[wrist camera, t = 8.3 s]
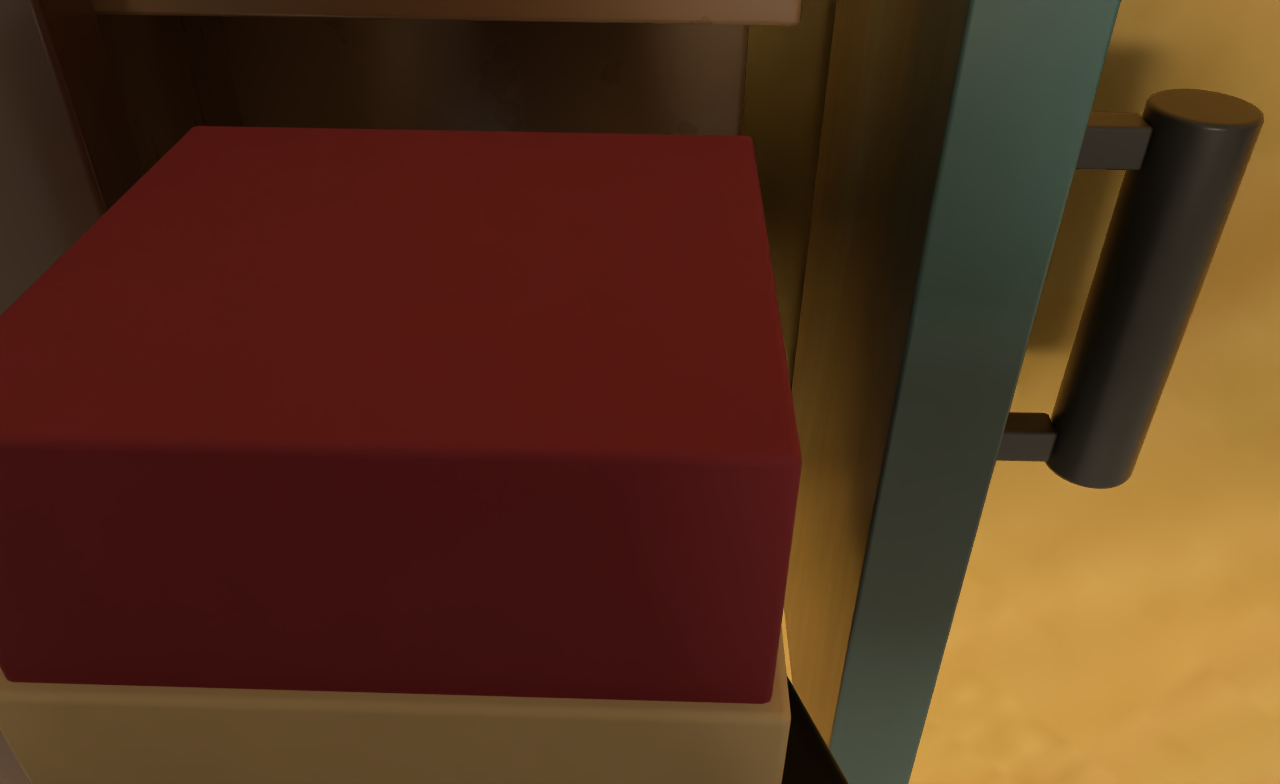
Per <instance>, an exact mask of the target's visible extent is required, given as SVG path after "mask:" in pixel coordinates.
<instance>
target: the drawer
mask: <svg viewBox="0 0 1280 784" xmlns="http://www.w3.org/2000/svg"><path fill="white" fill-rule="evenodd" d="M92 2H93V6H94V9H95V12H96V16H97V19H98V23H99V26H100V29H101V33H102V36H103V40H104V43H105V46H106V50H107V53H108V57H109V60H110V63H111V67H112V70H113V74H114V77H115V80H116V84H117V87H118V91H119V94H120V97H121V101H122V104H123V108H124V111H125V114H126V118H127V121H128V125H129V128H130V131H131V135H132V138H133V142H134V145H135V148H136V152H137V155H138V159H139V162H140V165H141V169H142V172H143V175H144V174H145V173H146V172H147V171H148V170H149V169H150V168H151V167H152V166H153V165H154V164H156V163H157V162H158V161H159V160H160V159H161V158H162V157H163V156H164V155H165V154H166V153H167V152H168V151H169V150H170V149H171V148H172V147H173V146H174V145H175V144H176V143H177V142H178V141H179V140H180V139H181V138H182V137H183V136H184V135H185V134H186V133H187V132H188V131H189V130H190V129H191V128H193V127H195V126H227V127H282V128H338V129H393V130H449V131H504V132H560V133H615V134H671V135H726V136H741V135H742V120H743V105H744V90H745V76H746V61H747V46H748V32H749V25H779V26H794V25H796V24H798V23H799V21H800V17H801V7H802V0H92ZM1120 2H1121V0H837V2H836V11H835V20H834V28H833V37H832V46H831V54H830V63H829V72H828V80H827V89H826V98H825V106H824V115H823V124H822V132H821V141H820V150H819V158H818V167H817V176H816V184H815V193H814V202H813V210H812V219H811V228H810V236H809V245H808V254H807V262H806V271H805V280H804V288H803V297H802V306H801V314H800V323H799V332H798V341H797V349H796V358H795V367H794V375H793V384H792V398H793V405H794V412H795V418H796V425H797V431H798V438H799V444H800V450H801V457H802V468H801V475H800V483H799V491H798V499H797V507H796V514H795V522H794V530H793V538H792V545H791V553H790V561H789V569H788V576H787V584H786V592H785V600H784V611H785V620H786V629H787V638H788V647H789V656H790V665H791V674H792V683H793V687H794V689H795V690H796V692H797V694H798V696H799V697H800V699H801V701H802V703H803V704H804V706H805V708H806V710H807V711H808V713H809V715H810V717H811V718H812V720H813V722H814V724H815V725H816V727H817V729H818V730H819V732H820V734H821V736H822V737H823V739H824V741H825V743H826V744H827V746H828V748H829V750H830V751H831V753H832V755H833V757H834V758H835V760H836V762H837V764H838V765H839V767H840V769H841V771H842V772H843V774H844V776H845V777H846V779H847V781H848V783H849V784H908V783H909V779H910V775H911V772H912V768H913V764H914V761H915V757H916V753H917V750H918V746H919V742H920V738H921V735H922V731H923V727H924V724H925V720H926V716H927V713H928V709H929V705H930V702H931V698H932V694H933V691H934V687H935V683H936V680H937V676H938V672H939V669H940V665H941V661H942V657H943V654H944V650H945V646H946V643H947V639H948V635H949V632H950V628H951V624H952V621H953V617H954V613H955V610H956V606H957V602H958V599H959V595H960V591H961V587H962V584H963V580H964V576H965V573H966V569H967V565H968V562H969V558H970V554H971V551H972V547H973V543H974V540H975V536H976V532H977V529H978V525H979V521H980V518H981V514H982V510H983V506H984V503H985V499H986V495H987V492H988V488H989V484H990V481H991V477H992V473H993V470H994V466H995V462H996V460H1002V461H1043V462H1045V463H1046V465H1047V466H1048V467H1049V468H1050V469H1051V470H1052V471H1053V472H1054V473H1055V474H1057V475H1058V476H1060V477H1061V478H1063V479H1065V480H1067V481H1069V482H1071V483H1074V484H1077V485H1080V486H1084V487H1088V488H1097V489H1106V488H1112V487H1116V486H1119V485H1121V484H1123V483H1124V482H1125V481H1127V480H1128V479H1129V477H1130V476H1131V474H1132V471H1133V469H1134V466H1135V463H1136V461H1137V458H1138V455H1139V453H1140V450H1141V447H1142V445H1143V442H1144V439H1145V437H1146V434H1147V431H1148V429H1149V426H1150V423H1151V421H1152V418H1153V415H1154V413H1155V410H1156V407H1157V405H1158V402H1159V399H1160V397H1161V394H1162V391H1163V389H1164V386H1165V383H1166V381H1167V378H1168V375H1169V373H1170V370H1171V367H1172V365H1173V362H1174V359H1175V357H1176V354H1177V351H1178V349H1179V346H1180V343H1181V341H1182V338H1183V335H1184V333H1185V330H1186V327H1187V325H1188V322H1189V319H1190V317H1191V314H1192V311H1193V309H1194V306H1195V303H1196V301H1197V298H1198V295H1199V293H1200V290H1201V287H1202V285H1203V282H1204V279H1205V277H1206V274H1207V271H1208V269H1209V266H1210V263H1211V261H1212V258H1213V255H1214V253H1215V250H1216V247H1217V245H1218V242H1219V239H1220V237H1221V234H1222V231H1223V229H1224V226H1225V223H1226V221H1227V218H1228V215H1229V213H1230V210H1231V207H1232V205H1233V202H1234V199H1235V197H1236V194H1237V191H1238V189H1239V186H1240V183H1241V181H1242V178H1243V175H1244V173H1245V170H1246V167H1247V165H1248V162H1249V159H1250V157H1251V154H1252V151H1253V149H1254V146H1255V143H1256V141H1257V138H1258V136H1259V133H1260V130H1261V128H1262V125H1263V122H1264V116H1263V113H1262V111H1261V110H1260V109H1259V108H1257V107H1256V106H1254V105H1253V104H1251V103H1249V102H1246V101H1244V100H1242V99H1239V98H1237V97H1234V96H1230V95H1227V94H1222V93H1218V92H1213V91H1206V90H1197V89H1172V90H1165V91H1160V92H1157V93H1155V94H1153V95H1151V97H1150V98H1149V99H1148V100H1147V102H1146V105H1145V109H1144V112H1143V115H1142V117H1141V116H1140V115H1139V114H1138V113H1133V112H1091V109H1092V105H1093V101H1094V98H1095V94H1096V90H1097V87H1098V83H1099V79H1100V76H1101V72H1102V68H1103V65H1104V61H1105V57H1106V54H1107V50H1108V46H1109V43H1110V39H1111V35H1112V32H1113V28H1114V24H1115V20H1116V17H1117V13H1118V9H1119V6H1120ZM1075 169H1108V170H1126V172H1125V175H1124V178H1123V182H1122V185H1121V188H1120V191H1119V195H1118V198H1117V201H1116V205H1115V208H1114V211H1113V215H1112V218H1111V221H1110V224H1109V228H1108V231H1107V234H1106V238H1105V241H1104V244H1103V248H1102V251H1101V254H1100V258H1099V261H1098V264H1097V267H1096V271H1095V274H1094V277H1093V281H1092V284H1091V287H1090V291H1089V294H1088V297H1087V300H1086V304H1085V307H1084V310H1083V314H1082V317H1081V320H1080V324H1079V327H1078V330H1077V334H1076V337H1075V340H1074V343H1073V347H1072V350H1071V353H1070V357H1069V360H1068V363H1067V367H1066V370H1065V373H1064V377H1063V380H1062V383H1061V386H1060V390H1059V393H1058V396H1057V400H1056V403H1055V406H1054V410H1053V413H1052V416H1051V419H1050V417H1049V415H1048V414H1045V413H1019V412H1009V411H1010V407H1011V403H1012V400H1013V396H1014V392H1015V389H1016V385H1017V381H1018V378H1019V374H1020V370H1021V367H1022V363H1023V359H1024V356H1025V352H1026V348H1027V344H1028V341H1029V337H1030V333H1031V330H1032V326H1033V322H1034V319H1035V315H1036V311H1037V308H1038V304H1039V300H1040V297H1041V293H1042V289H1043V286H1044V282H1045V278H1046V275H1047V271H1048V267H1049V263H1050V260H1051V256H1052V252H1053V249H1054V245H1055V241H1056V238H1057V234H1058V230H1059V227H1060V223H1061V219H1062V216H1063V212H1064V208H1065V205H1066V201H1067V197H1068V194H1069V190H1070V186H1071V182H1072V179H1073V175H1074V171H1075Z"/></svg>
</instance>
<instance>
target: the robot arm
mask: <svg viewBox="0 0 1280 784" xmlns="http://www.w3.org/2000/svg"><path fill="white" fill-rule="evenodd" d="M787 684H788V693H789V702H790V712H791V723H790V729H789V736H788V743H787V750H786V756H785V763H784V770H783V776H782V783H781V784H849V783H848V781H847V779H846V777H845V776H844V774H843V772H842V771H841V769H840V767H839V765H838V764H837V762H836V760H835V758H834V757H833V755H832V753H831V751H830V750H829V748H828V746H827V744H826V743H825V741H824V739H823V737H822V736H821V734H820V732H819V730H818V729H817V727H816V725H815V724H814V722H813V720H812V718H811V717H810V715H809V713H808V711H807V710H806V708H805V706H804V704H803V703H802V701H801V699H800V697H799V696H798V694H797V692H796V690H795V689H794V687H793V685H792V683H791V682H790V680H789V678H788V677H787Z"/></svg>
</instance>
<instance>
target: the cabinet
mask: <svg viewBox="0 0 1280 784" xmlns="http://www.w3.org/2000/svg"><path fill="white" fill-rule="evenodd" d="M142 176H143V172H142V169H141V165H140V162H139V159H138V155H137V152H136V148H135V145H134V142H133V138H132V135H131V131H130V128H129V125H128V121H127V118H126V114H125V111H124V108H123V104H122V101H121V97H120V94H119V91H118V87H117V84H116V80H115V77H114V74H113V70H112V67H111V63H110V60H109V57H108V53H107V50H106V46H105V43H104V40H103V36H102V33H101V29H100V26H99V23H98V19H97V16H96V12H95V9H94V6H93V2H92V0H0V315H1V314H2V313H3V312H4V311H5V310H6V309H7V308H8V307H9V306H10V305H11V304H13V303H14V302H15V301H16V300H17V299H18V298H19V297H20V296H21V295H22V294H23V293H24V292H25V291H26V290H27V289H28V288H29V287H30V286H31V285H32V284H33V283H34V282H35V281H36V280H37V279H38V278H39V277H40V276H41V275H42V274H43V273H44V272H45V271H46V270H47V269H48V268H49V267H50V266H51V265H52V264H53V263H54V262H55V261H56V260H57V259H58V258H59V257H61V256H62V255H63V254H64V253H65V252H66V251H67V250H68V249H69V248H70V247H71V246H72V245H73V244H74V243H75V242H76V241H77V240H78V239H79V238H80V237H81V236H82V235H83V234H84V233H85V232H86V231H87V230H88V229H89V228H90V227H91V226H92V225H93V224H94V223H95V222H96V221H97V220H98V219H99V218H100V217H101V216H102V215H103V214H104V213H105V212H106V211H108V210H109V209H110V208H111V207H112V206H113V205H114V204H115V203H116V202H117V201H118V200H119V199H120V198H121V197H122V196H123V195H124V194H125V193H126V192H127V191H128V190H129V189H130V188H131V187H132V186H133V185H134V184H135V183H136V182H137V181H138V180H139V179H140V178H141V177H142ZM0 784H31V783H30V781H29V780H28V778H27V776H26V774H25V773H24V771H23V769H22V767H21V766H20V764H19V762H18V760H17V759H16V757H15V755H14V754H13V752H12V750H11V748H10V747H9V745H8V743H7V741H6V740H5V738H4V736H3V734H2V733H1V731H0Z"/></svg>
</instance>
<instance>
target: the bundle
mask: <svg viewBox="0 0 1280 784" xmlns="http://www.w3.org/2000/svg"><path fill="white" fill-rule="evenodd" d="M801 468H802V457H801V450H800V444H799V438H798V431H797V425H796V418H795V412H794V405H793V398H792V392H791V386H790V379H789V373H788V366H787V360H786V353H785V347H784V340H783V334H782V327H781V321H780V314H779V308H778V301H777V295H776V288H775V282H774V275H773V269H772V262H771V256H770V249H769V243H768V236H767V230H766V223H765V217H764V210H763V204H762V197H761V191H760V184H759V178H758V171H757V165H756V158H755V152H754V145H753V141H752V138H750V137H748V136H726V135H671V134H615V133H560V132H504V131H449V130H393V129H338V128H282V127H227V126H195V127H193V128H191V129H190V130H189V131H188V132H187V133H186V134H185V135H184V136H183V137H182V138H181V139H180V140H179V141H178V142H177V143H176V144H175V145H174V146H173V147H172V148H171V149H170V150H169V151H168V152H167V153H166V154H165V155H164V156H163V157H162V158H161V159H160V160H159V161H158V162H157V163H156V164H154V165H153V166H152V167H151V168H150V169H149V170H148V171H147V172H146V173H145V174H144V175H143V176H142V177H141V178H140V179H139V180H138V181H137V182H136V183H135V184H134V185H133V186H132V187H131V188H130V189H129V190H128V191H127V192H126V193H125V194H124V195H123V196H122V197H121V198H120V199H119V200H118V201H117V202H116V203H115V204H114V205H113V206H112V207H111V208H110V209H109V210H108V211H106V212H105V213H104V214H103V215H102V216H101V217H100V218H99V219H98V220H97V221H96V222H95V223H94V224H93V225H92V226H91V227H90V228H89V229H88V230H87V231H86V232H85V233H84V234H83V235H82V236H81V237H80V238H79V239H78V240H77V241H76V242H75V243H74V244H73V245H72V246H71V247H70V248H69V249H68V250H67V251H66V252H65V253H64V254H63V255H62V256H61V257H59V258H58V259H57V260H56V261H55V262H54V263H53V264H52V265H51V266H50V267H49V268H48V269H47V270H46V271H45V272H44V273H43V274H42V275H41V276H40V277H39V278H38V279H37V280H36V281H35V282H34V283H33V284H32V285H31V286H30V287H29V288H28V289H27V290H26V291H25V292H24V293H23V294H22V295H21V296H20V297H19V298H18V299H17V300H16V301H15V302H14V303H13V304H11V305H10V306H9V307H8V308H7V309H6V310H5V311H4V312H3V313H2V314H1V315H0V731H1V733H2V734H3V736H4V738H5V740H6V741H7V743H8V745H9V747H10V748H11V750H12V752H13V754H14V755H15V757H16V759H17V760H18V762H19V764H20V766H21V767H22V769H23V771H24V773H25V774H26V776H27V778H28V780H29V781H30V783H31V784H781V783H782V776H783V770H784V763H785V756H786V750H787V743H788V736H789V729H790V723H791V712H790V702H789V693H788V684H787V674H786V665H785V655H784V646H783V637H782V627H781V623H782V615H783V608H784V600H785V592H786V584H787V576H788V569H789V561H790V553H791V545H792V538H793V530H794V522H795V514H796V507H797V499H798V491H799V483H800V475H801Z"/></svg>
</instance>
